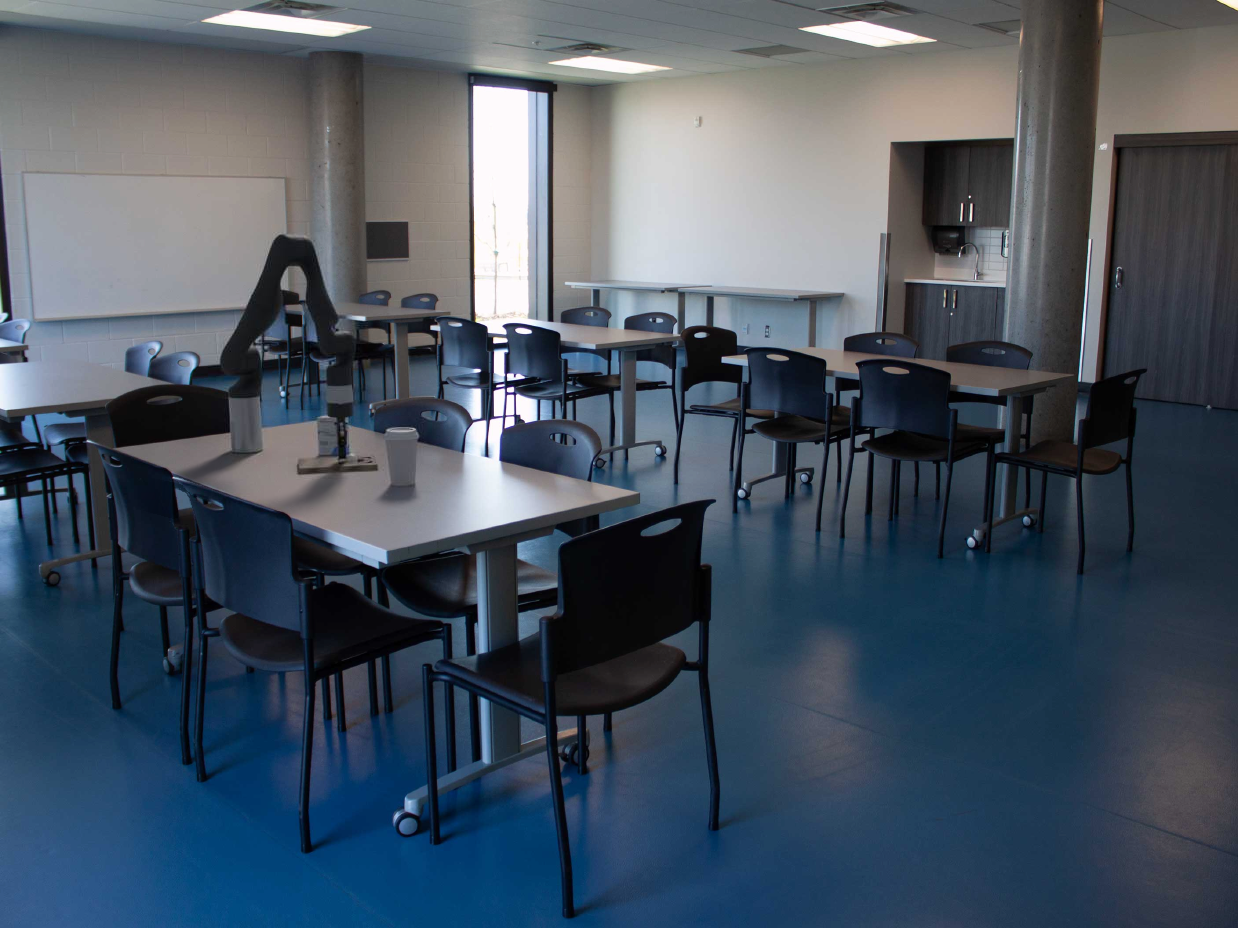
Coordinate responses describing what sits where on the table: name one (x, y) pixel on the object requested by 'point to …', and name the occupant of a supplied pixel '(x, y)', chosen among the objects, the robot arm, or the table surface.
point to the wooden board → (336, 464)
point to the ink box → (328, 436)
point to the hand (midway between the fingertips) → (342, 458)
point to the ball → (351, 458)
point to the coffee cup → (402, 455)
